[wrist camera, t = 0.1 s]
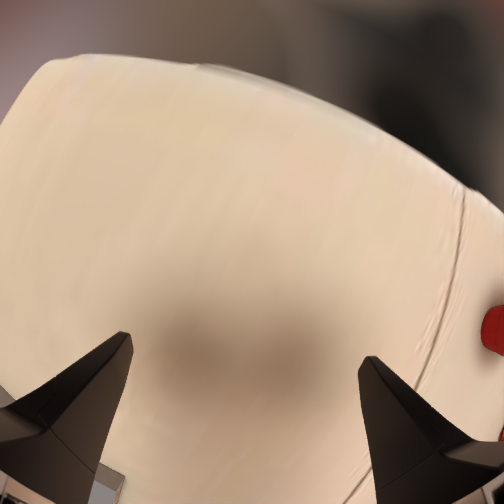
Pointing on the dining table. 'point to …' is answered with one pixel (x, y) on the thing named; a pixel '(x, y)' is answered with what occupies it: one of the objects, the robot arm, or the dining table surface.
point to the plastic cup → (494, 330)
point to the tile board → (105, 478)
